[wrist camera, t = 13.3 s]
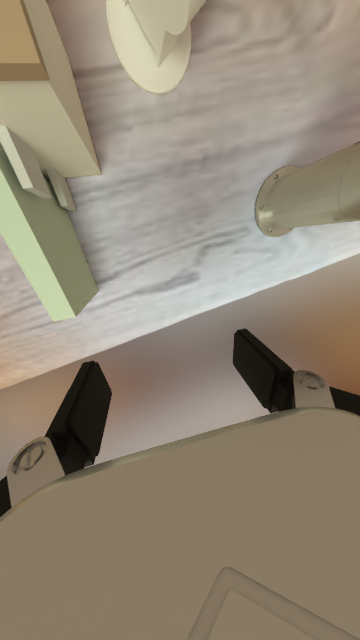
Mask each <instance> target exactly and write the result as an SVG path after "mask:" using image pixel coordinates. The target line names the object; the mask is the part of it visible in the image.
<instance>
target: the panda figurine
mask: <svg viewBox="0 0 360 640" xmlns="http://www.w3.org/2000/svg"><path fill="white" fill-rule="evenodd" d="M206 1H207V0H106V8H107V19H108V26H109V31H110V36H111V40H112V43H113V46H114V49H115V52H116V54H117V57H118V59H119V61H120V63H121V65H122V67H123V68H124V70H125V72H126V73H127V74H128V76H129V77H130V78H131V80H132V81H133V82H134V83H135V84H136V85H137V86H139V87H140V88H141V89H143V90H144V91H146V92H148V93H151V94H155V95H163V94H166V93H169V92H171V91H172V90H173V89H175V88H176V87H177V86H178V84H179V83H180V82H181V80H182V78H183V76H184V74H185V72H186V69H187V65H188V62H189V57H190V51H191V23H190V22H191V20H192V19H193V18H194V16H195V15H196V14H197V13H198V11H199V10H200V9H201V7H202V6H203V5H204V3H205V2H206Z"/></svg>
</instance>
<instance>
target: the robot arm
mask: <svg viewBox="0 0 360 640" xmlns="http://www.w3.org/2000/svg"><path fill="white" fill-rule="evenodd" d="M255 215H256V221H257V224H258V227H259V228H260V230H261V231H262V232H263V233H264V234H265V235H267V236H271V237H278V236H283V235H285V234H287V233H289V232H290V231H291V230H292V229H294V228H295V227H304V226H313V225H323V224H332V223H342V222H351V221H359V220H360V141H359V142H357V143H355V144H353V145H351V146H348V147H346V148H344V149H342V150H340V151H338V152H336V153H333V154H331V155H329V156H327V157H325V158H323V159H321V160H319V161H316V162H314V163H312V164H310V165H308V166H306V167H304V168H301V169H300V168H298V167H295V166H286V167H283V168H281V169H279V170H277V171H276V172H274V173H273V174H272V175H271V176H270V177H268V179H267V180H266V181H265V183H264V184H263V186H262V188H261V190H260V192H259V195H258V197H257V202H256V208H255ZM233 364H234V366H235V368H236V369H237V371H238V372H239V373H240V375H241V376H242V378H243V379H244V380H245V382H246V383H247V385H248V386H249V388H250V389H251V390H252V392H253V393H254V395H255V396H256V397H257V399H258V400H259V402H260V403H261V404H262V406H263V407H264V408H267V409H268V410H269V412H270V413H273V414H269V415H265V416H262V417H258V418H255V419H251V420H247V421H244V422H240V423H237V424H233V425H230V426H226V427H223V428H219V429H216V430H212V431H209V432H205V433H202V434H198V435H195V436H191V437H188V438H184V439H181V440H177V441H174V442H170V443H167V444H164V445H160V446H157V447H153V448H150V449H147V450H143V451H140V452H136V453H133V454H130V455H126V456H123V457H119V458H116V459H113V460H110V461H107V462H104V463H101V464H97V465H94V466H91V467H88V468H84V467H87V466H90V465H93V464H94V461H95V457H96V456H98V454H99V451H100V446H101V441H102V437H103V432H104V428H105V423H106V419H107V414H108V410H109V405H110V400H111V396H112V392H111V389H110V387H109V385H108V383H107V381H106V378H105V376H104V374H103V372H102V370H101V368H100V366H99V364H98V363H97V362H96V363H95V361H90V362H85V363H83V364H82V366H81V368H80V370H79V372H78V373H77V376H76V377H75V379H74V381H73V383H72V385H71V387H70V389H69V390H68V392H67V394H66V396H65V398H64V400H63V402H62V404H61V406H60V408H59V410H58V411H57V414H56V415H55V417H54V419H53V421H52V423H51V425H50V427H49V429H48V431H47V433H46V435H45V437H39V438H37V439H34V440H32V441H31V442H30V443H28V444H26V445H25V446H24V447H23V448H22V449H21V450H20V451H19V452H18V453H17V454H16V455H15V456H14V458H13V459H12V461H11V462H10V464H9V466H8V469H7V476H6V477H5V478H3V479H2V480H1V481H0V640H360V396H359V395H356V394H352V393H349V392H346V391H342V390H339V389H336V388H333V387H329V386H328V384H327V382H326V381H325V380H324V379H323V378H322V377H321V376H319V375H318V374H315V373H313V372H310V371H306V370H299V371H296V372H294V371H293V370H292V368H290V367H289V366H288V365H287V364H286V363H285V362H284V361H283V360H281V359H280V358H279V357H278V356H277V355H275V354H274V353H273V352H272V351H271V350H270V349H269V348H268V347H266V346H265V345H264V344H263V343H262V342H261V341H260V340H258V339H257V338H256V337H255V336H254V335H253V334H251V333H250V332H249V331H248V330H247V329H241V330H237V332H236V333H235V334H234V350H233ZM277 411H279V412H277ZM274 412H277V413H274Z"/></svg>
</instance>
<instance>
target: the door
mask: <svg viewBox="0 0 360 640" xmlns="http://www.w3.org/2000/svg"><path fill="white" fill-rule="evenodd" d="M45 182H46V184H47V186H48V189H49V191H50V194H51V196H52V197H51V198H42V197H40V196H38V195H36V194H33V193H31V192H29V191H27V190H25V189H23V188H22V186H21V184H20V181H19V179H18V177H17V175H16V173H15V171H14V169H13V167H12V165H11V163H10V160H9V158H8V156H7V154H6V153H5V152H4V151H2V150H1V149H0V233H1V235H2V236H3V238H4V240H5V241H6V243H7V245H8V246H9V248H10V250H11V251H12V253H13V255H14V257H15V258H16V260H17V262H18V263H19V265H20V267H21V268H22V270H23V272H24V273H25V275H26V277H27V278H28V280H29V282H30V283H31V285H32V287H33V288H34V290H35V292H36V293H37V295H38V297H39V299H40V300H41V302H42V304H43V305H44V307H45V309H46V310H47V312H48V314H49V315H50V317H51V319H52V320H53V322H54V321H59V320H64V319H68V318H73V317H76V316H77V315H78V314H79V313H80V312H81V310H82V309H83V308H84V307H85V306H86V305H87V304H88V303H89V301H90V300H91V299H92V298H93V297H94V296H95V295H96V294H97V292H98V291H99V290H98V288H97V285H96V283H95V280H94V278H93V275H92V273H91V270H90V268H89V265H88V263H87V260H86V258H85V255H84V253H83V250H82V248H81V245H80V243H79V240H78V238H77V235H76V233H75V230H74V227H73V225H72V222H71V220H70V217H69V215H68V212H67V210H66V209H65V208H63V207H61V205H60V202H59V200H58V197H57V195H56V193H55V190H54V188H53V185H52V184H51V183H50V182H48V181H47V180H45Z"/></svg>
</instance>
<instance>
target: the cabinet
mask: <svg viewBox="0 0 360 640" xmlns="http://www.w3.org/2000/svg"><path fill="white" fill-rule="evenodd" d="M0 149H1V150H2V151H4V152H5V153H6V154H7V156H8V158H9V160H10V163H11V165H12V167H13V169H14V171H15V173H16V175H17V177H18V179H19V181H20V184H21V186H22V188H23V189H25V190H27V191H29V192H31V193H33V194H36V195H38V196H40V197H42V198H51V197H52V196H51V194H50V191H49V189H48V186H47V184H46V182H45V180H47V179H50V180H51V183H52V185H53V188H54V190H55V193H56V195H57V197H58V200H59V202H60V205H61V207H63V208H65V209H68V210H70V211H77V209H76V206H75V203H74V201H73V198H72V195H71V193H70V190H69V187H68V184H67V182H66V179H65V178H69V177H79V176H90V175H100V174H101V172H100V168H99V165H98V161H97V158H96V154H95V150H94V147H93V143H92V140H91V136H90V133H89V129H88V126H87V122H86V119H85V115H84V112H83V108H82V105H81V101H80V98H79V94H78V91H77V87H76V83H75V80H74V76H73V73H72V69H71V66H70V62H69V59H68V56H67V54H66V51H65V48H64V46H63V43H62V41H61V38H60V36H59V33H58V30H57V28H56V25H55V23H54V20H53V18H52V15H51V13H50V10H49V7H48V5H47V2H46V0H0Z"/></svg>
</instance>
